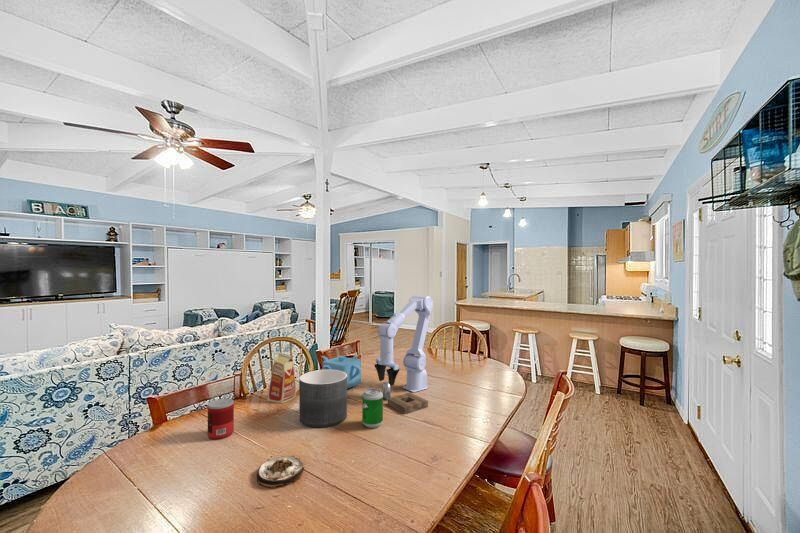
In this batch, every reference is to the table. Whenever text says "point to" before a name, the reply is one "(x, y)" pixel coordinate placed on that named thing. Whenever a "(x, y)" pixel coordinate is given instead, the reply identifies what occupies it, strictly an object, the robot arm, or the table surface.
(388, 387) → the long pin
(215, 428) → the canned food
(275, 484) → the sushi roll
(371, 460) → the table surface
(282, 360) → the milk carton
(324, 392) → the planter
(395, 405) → the socket block
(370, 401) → the soda can
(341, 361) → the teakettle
